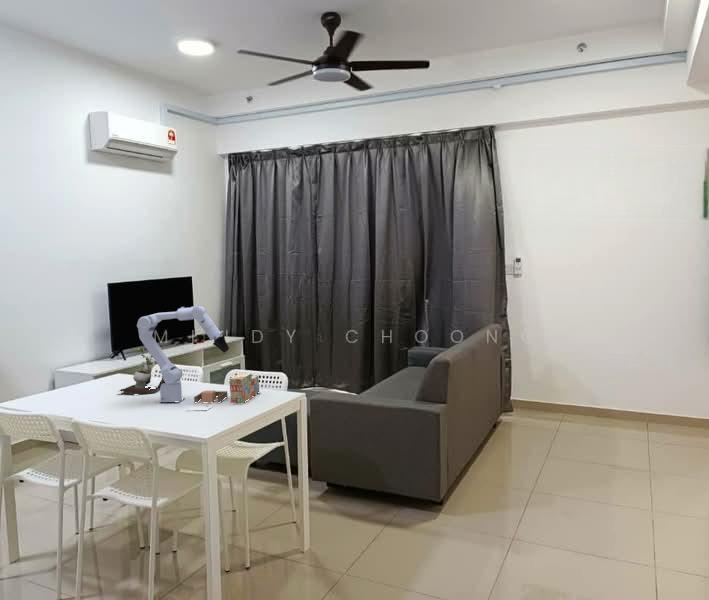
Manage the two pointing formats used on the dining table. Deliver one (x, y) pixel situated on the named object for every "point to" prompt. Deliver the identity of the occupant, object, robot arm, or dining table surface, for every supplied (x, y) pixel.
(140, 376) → the potted plant
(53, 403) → the dining table surface
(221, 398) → the cubby
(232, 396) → the stack of blocks
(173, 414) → the dining table surface
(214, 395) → the cube
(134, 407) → the dining table surface
